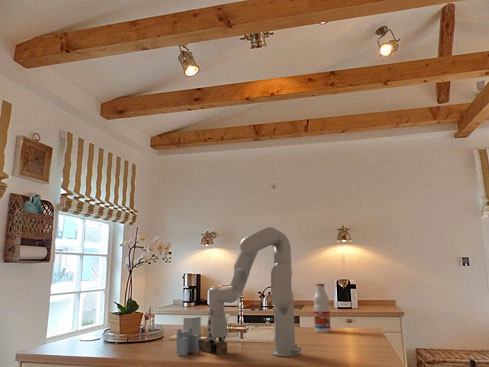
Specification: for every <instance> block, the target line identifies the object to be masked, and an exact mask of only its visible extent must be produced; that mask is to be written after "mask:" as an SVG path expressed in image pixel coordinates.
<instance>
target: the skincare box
mask: <svg viewBox="0 0 489 367" xmlns="http://www.w3.org/2000/svg"><path fill="white" fill-rule="evenodd" d="M201 318H202V317H201V316H199V315H198V316H195V315H192V316H187V317H186V316H185V317H183V332H184V331H189V330H188V328H189V327H192V330H193V335H198V336H199V340H200V339H202V329H201V328H202V322H201V320H202V319H201Z"/></svg>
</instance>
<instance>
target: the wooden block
mask: <svg viewBox="0 0 489 367" xmlns="http://www.w3.org/2000/svg"><path fill="white" fill-rule="evenodd" d="M215 344H216V353H214V354H215V355H219V356H220V355H221V356H223V355H226V354H228V342H226V341H224V342H222V341H219V340H216V343H215ZM199 352H206V353H211V344H210V342H209V341H208V340H206V338H201V339H200V340H199ZM211 354H212V353H211Z"/></svg>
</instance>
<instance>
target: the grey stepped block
mask: <svg viewBox="0 0 489 367" xmlns="http://www.w3.org/2000/svg"><path fill="white" fill-rule="evenodd" d="M188 330H189V331H184V330H183V331H182V329H181V328H178V329H177V331H176V355H177V354H178V356H181V355H182V356H181V357H187V356H188V354H189V353H194V354H199V352H200V350H199V336H198V335H193V330H192V327H189V328H188ZM188 352H189V353H188Z"/></svg>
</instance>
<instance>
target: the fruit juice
mask: <svg viewBox="0 0 489 367" xmlns="http://www.w3.org/2000/svg"><path fill="white" fill-rule="evenodd" d="M315 285H316V290H315V293H314V296H313V316H314V319H313V320H314V331H315V332H316V333H319V334H321V333H322V334H323V333H325V334H327V333H330V332H331V315H330V314H331V313H330V305H329V300H330V299H329V296H328V293H327V292H326V288H325V284H324V283H315Z"/></svg>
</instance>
